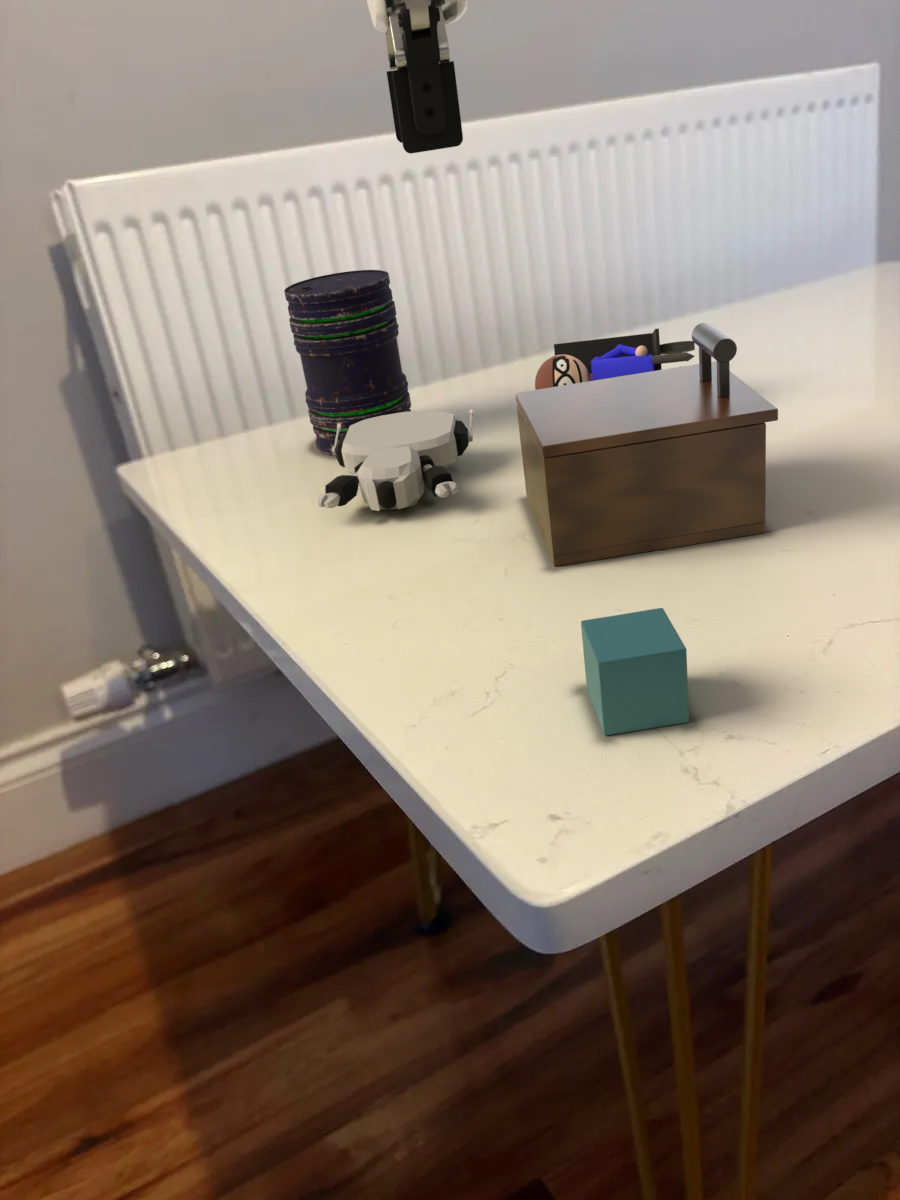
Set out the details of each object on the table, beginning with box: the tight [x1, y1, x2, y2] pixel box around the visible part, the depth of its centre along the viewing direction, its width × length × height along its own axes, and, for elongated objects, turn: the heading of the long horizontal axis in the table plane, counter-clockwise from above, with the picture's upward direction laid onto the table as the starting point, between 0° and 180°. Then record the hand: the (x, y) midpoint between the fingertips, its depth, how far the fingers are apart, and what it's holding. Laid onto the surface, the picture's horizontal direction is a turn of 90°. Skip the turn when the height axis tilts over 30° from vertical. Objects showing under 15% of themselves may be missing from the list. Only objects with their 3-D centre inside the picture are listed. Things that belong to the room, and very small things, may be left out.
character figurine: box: [534, 328, 696, 390], centre depth 94 cm, size 8×7×15 cm
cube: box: [580, 607, 690, 737], centre depth 53 cm, size 4×4×4 cm
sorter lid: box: [514, 322, 779, 458], centre depth 71 cm, size 15×13×5 cm
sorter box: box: [516, 403, 767, 567], centre depth 74 cm, size 15×13×8 cm
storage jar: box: [283, 269, 412, 456], centre depth 97 cm, size 10×10×15 cm
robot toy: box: [316, 408, 474, 512], centre depth 86 cm, size 12×4×15 cm
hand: (427, 143), depth 59 cm, fingers open, 9 cm apart
